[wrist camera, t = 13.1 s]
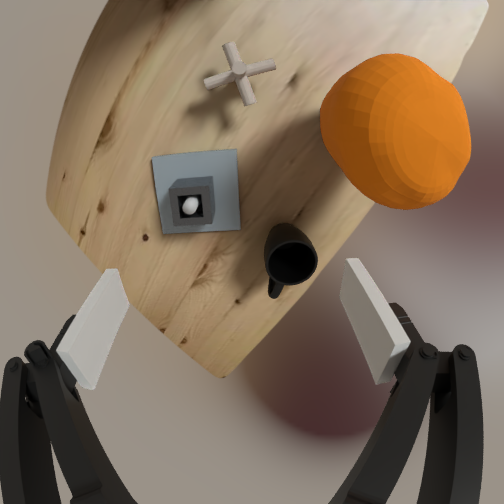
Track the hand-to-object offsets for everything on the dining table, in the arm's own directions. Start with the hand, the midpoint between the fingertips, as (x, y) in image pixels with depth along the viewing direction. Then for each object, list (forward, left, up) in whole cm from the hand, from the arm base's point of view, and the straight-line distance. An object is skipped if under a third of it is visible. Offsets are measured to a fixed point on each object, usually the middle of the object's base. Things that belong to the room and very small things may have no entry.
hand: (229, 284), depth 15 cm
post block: (+4, -7, -33) cm, 34 cm away
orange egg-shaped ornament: (-8, +18, -33) cm, 38 cm away
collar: (+4, -7, -32) cm, 33 cm away
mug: (+15, +7, -33) cm, 37 cm away
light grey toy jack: (-15, +1, -33) cm, 36 cm away
